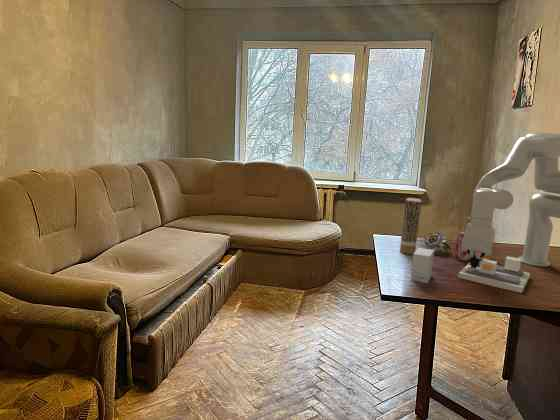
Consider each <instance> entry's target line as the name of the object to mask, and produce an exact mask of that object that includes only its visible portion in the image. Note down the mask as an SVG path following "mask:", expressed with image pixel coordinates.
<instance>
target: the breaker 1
mask: <svg viewBox="0 0 560 420" xmlns="http://www.w3.org/2000/svg"><path fill="white" fill-rule="evenodd" d="M480 261H481V264H480V271H479V272H482V273H486V274H491V275H494V274H495V272H496V266H497V265H498V261H497V260H496V261H495V260H491V259H489V260H487V259H482V260H480Z"/></svg>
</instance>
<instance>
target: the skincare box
mask: <svg viewBox="0 0 560 420" xmlns="http://www.w3.org/2000/svg"><path fill="white" fill-rule="evenodd" d="M412 255H413V256H412V264H411V273H410V280H411V281H416V282H420V283H424V284H428V283H429V281H430V280H431V278H432V275H433V273H432V272H433V264H434V263H433V262H434V255H435V251H434V250H433V249H432V250H431V249H426V248H423V247H418V248H417V249H415V253H414V254H412Z"/></svg>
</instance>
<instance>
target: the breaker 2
mask: <svg viewBox="0 0 560 420" xmlns="http://www.w3.org/2000/svg"><path fill="white" fill-rule="evenodd" d="M521 263H522V262H521V259H518V257H513V256H506V257H505V261H504V266H505V267H504V269H507V270H511V271H516V272H519V270H521Z"/></svg>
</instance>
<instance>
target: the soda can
mask: <svg viewBox="0 0 560 420" xmlns="http://www.w3.org/2000/svg"><path fill="white" fill-rule="evenodd" d="M464 233H465V231H459V233H458V234H457V238H456V242H455V243H456V244H455V249H454V257H455V258H456V259H457V260H460V261H469V260H471V257H470V255H469V254H468V253H467V252H465V251H463V250H462V243H463V238H464Z"/></svg>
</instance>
